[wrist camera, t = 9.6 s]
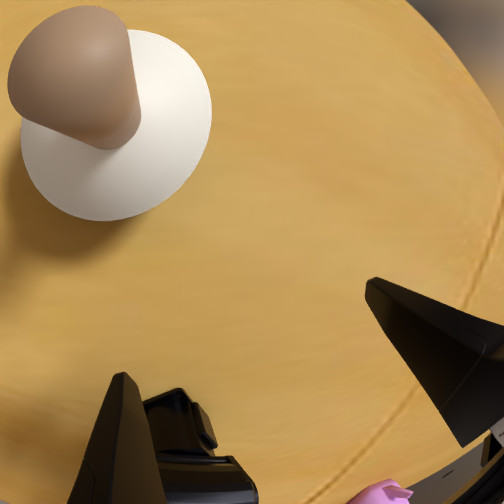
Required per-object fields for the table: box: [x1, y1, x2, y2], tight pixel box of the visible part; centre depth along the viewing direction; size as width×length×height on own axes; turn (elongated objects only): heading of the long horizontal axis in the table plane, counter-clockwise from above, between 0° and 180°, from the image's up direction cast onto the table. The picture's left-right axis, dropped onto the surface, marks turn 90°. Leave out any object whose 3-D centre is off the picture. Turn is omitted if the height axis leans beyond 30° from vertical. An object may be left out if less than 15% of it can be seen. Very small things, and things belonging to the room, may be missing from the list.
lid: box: [8, 6, 212, 221], centre depth 9 cm, size 11×11×10 cm
